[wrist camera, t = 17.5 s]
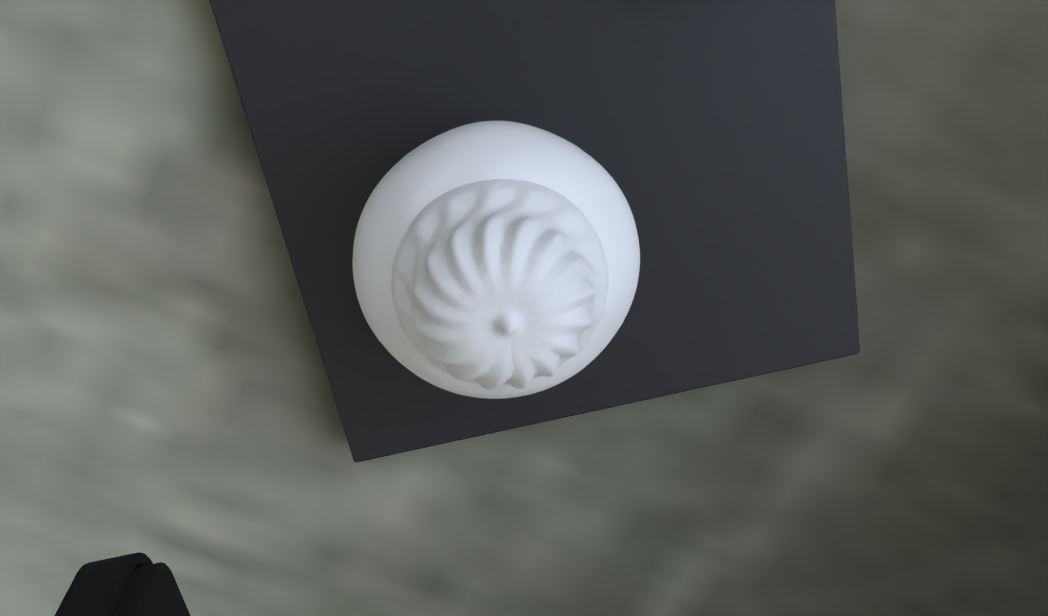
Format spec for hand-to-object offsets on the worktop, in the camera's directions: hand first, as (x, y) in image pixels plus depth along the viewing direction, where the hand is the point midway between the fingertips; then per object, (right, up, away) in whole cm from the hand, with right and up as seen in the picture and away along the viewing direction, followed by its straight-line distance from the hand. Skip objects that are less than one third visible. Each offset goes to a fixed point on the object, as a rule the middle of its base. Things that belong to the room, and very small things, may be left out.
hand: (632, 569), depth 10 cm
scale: (-1, +8, +15) cm, 17 cm away
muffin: (-2, +5, +14) cm, 15 cm away
